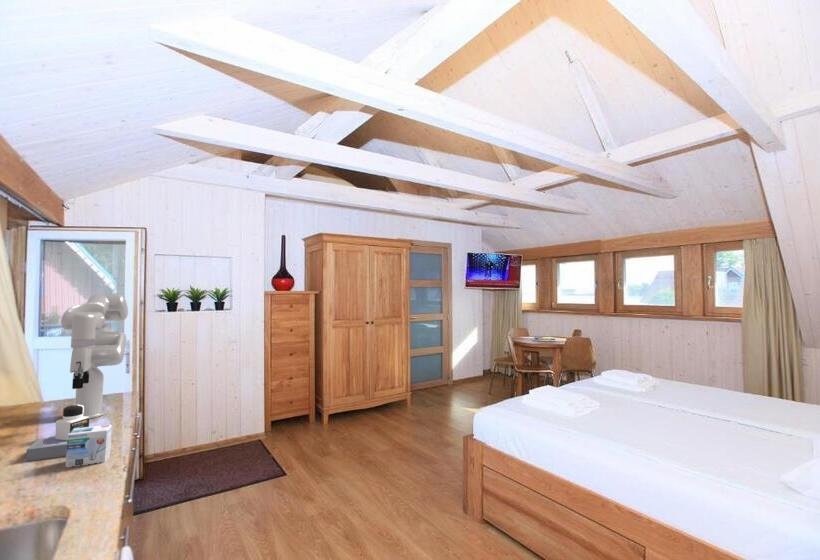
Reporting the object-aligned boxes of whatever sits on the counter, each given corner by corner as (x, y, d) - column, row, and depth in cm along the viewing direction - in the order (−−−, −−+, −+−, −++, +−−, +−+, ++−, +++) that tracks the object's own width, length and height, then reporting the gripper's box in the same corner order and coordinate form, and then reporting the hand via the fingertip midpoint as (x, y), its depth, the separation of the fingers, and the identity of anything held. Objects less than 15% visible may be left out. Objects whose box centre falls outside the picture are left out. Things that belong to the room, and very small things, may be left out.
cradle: (37, 450, 136) (37, 439, 136) (87, 444, 142) (88, 433, 142) (25, 461, 127) (26, 449, 127) (80, 454, 134) (80, 442, 134)
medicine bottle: (69, 441, 144) (71, 409, 145) (54, 439, 146) (56, 407, 146) (88, 434, 151) (90, 404, 152) (74, 432, 153) (76, 402, 153)
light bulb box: (64, 468, 123) (66, 434, 123) (71, 460, 129) (73, 428, 129) (106, 462, 128) (107, 430, 128) (110, 454, 134) (112, 423, 134)
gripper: (77, 341, 163) (75, 381, 163) (64, 346, 148) (61, 392, 147) (99, 340, 167) (97, 380, 166) (89, 346, 151) (86, 390, 151)
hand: (80, 385), depth 157 cm, fingers open, 8 cm apart
